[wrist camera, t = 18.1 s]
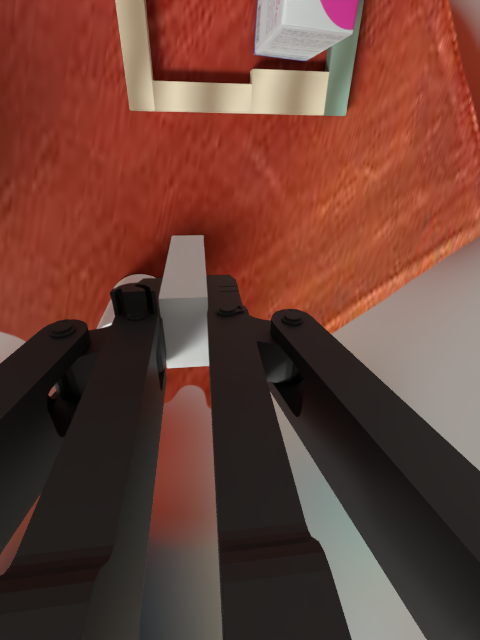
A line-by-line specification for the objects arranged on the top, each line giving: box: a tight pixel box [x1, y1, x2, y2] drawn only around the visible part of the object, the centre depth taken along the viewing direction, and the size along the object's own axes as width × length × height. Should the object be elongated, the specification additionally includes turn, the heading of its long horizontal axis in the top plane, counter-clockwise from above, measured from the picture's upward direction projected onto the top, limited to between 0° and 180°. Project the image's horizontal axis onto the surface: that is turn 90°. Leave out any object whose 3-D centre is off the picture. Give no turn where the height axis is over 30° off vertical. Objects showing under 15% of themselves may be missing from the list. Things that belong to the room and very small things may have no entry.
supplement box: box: [254, 0, 359, 61], centre depth 27 cm, size 6×6×12 cm
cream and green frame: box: [115, 0, 364, 116], centre depth 31 cm, size 23×15×2 cm, turn 89°
